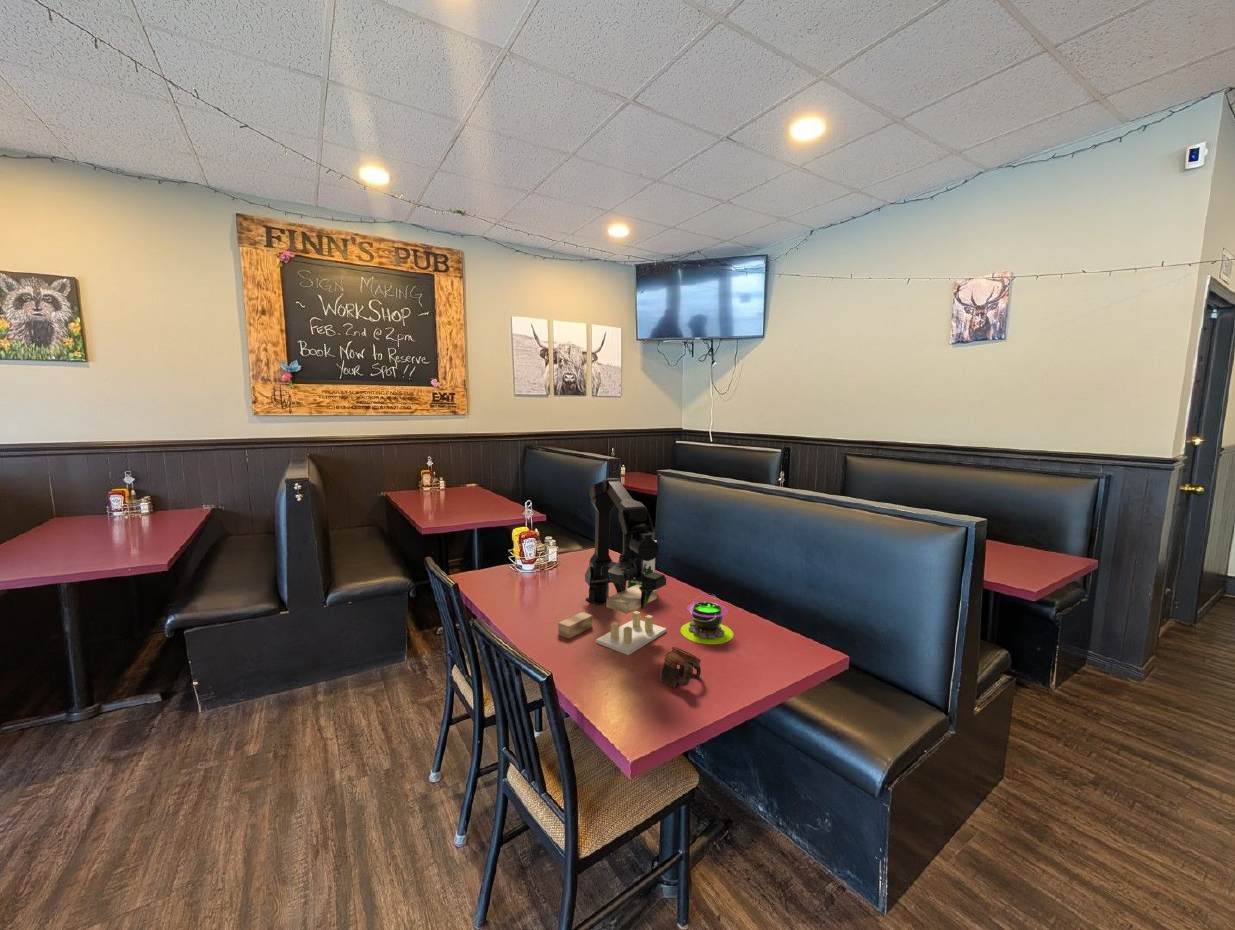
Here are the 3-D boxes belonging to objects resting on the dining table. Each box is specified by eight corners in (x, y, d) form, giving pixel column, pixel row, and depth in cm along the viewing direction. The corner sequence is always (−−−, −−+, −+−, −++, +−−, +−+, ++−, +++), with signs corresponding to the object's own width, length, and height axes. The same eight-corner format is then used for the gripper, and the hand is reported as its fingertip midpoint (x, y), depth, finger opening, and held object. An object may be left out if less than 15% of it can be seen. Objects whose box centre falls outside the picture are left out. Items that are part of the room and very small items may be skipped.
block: (582, 623, 150) (582, 611, 150) (592, 626, 148) (592, 615, 148) (558, 634, 143) (558, 622, 142) (568, 638, 140) (568, 626, 140)
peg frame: (635, 621, 152) (635, 605, 151) (666, 631, 145) (666, 615, 145) (596, 642, 138) (596, 625, 137) (628, 655, 131) (628, 636, 130)
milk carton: (624, 592, 176) (624, 536, 174) (637, 584, 183) (638, 531, 181) (646, 597, 171) (647, 539, 169) (658, 589, 179) (659, 534, 177)
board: (636, 592, 148) (637, 584, 148) (656, 598, 144) (656, 589, 143) (606, 607, 137) (606, 598, 137) (626, 613, 133) (627, 604, 132)
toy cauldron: (671, 626, 149) (672, 590, 148) (714, 618, 155) (716, 584, 154) (697, 648, 135) (698, 609, 134) (744, 639, 141) (745, 601, 140)
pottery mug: (651, 674, 123) (664, 641, 125) (685, 688, 124) (697, 656, 126) (667, 688, 111) (681, 651, 113) (704, 703, 113) (717, 667, 115)
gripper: (588, 550, 138) (588, 605, 140) (643, 564, 127) (642, 623, 128) (613, 542, 147) (613, 593, 149) (668, 554, 135) (666, 610, 137)
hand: (632, 605), depth 141 cm, fingers closed on board, 7 cm apart
